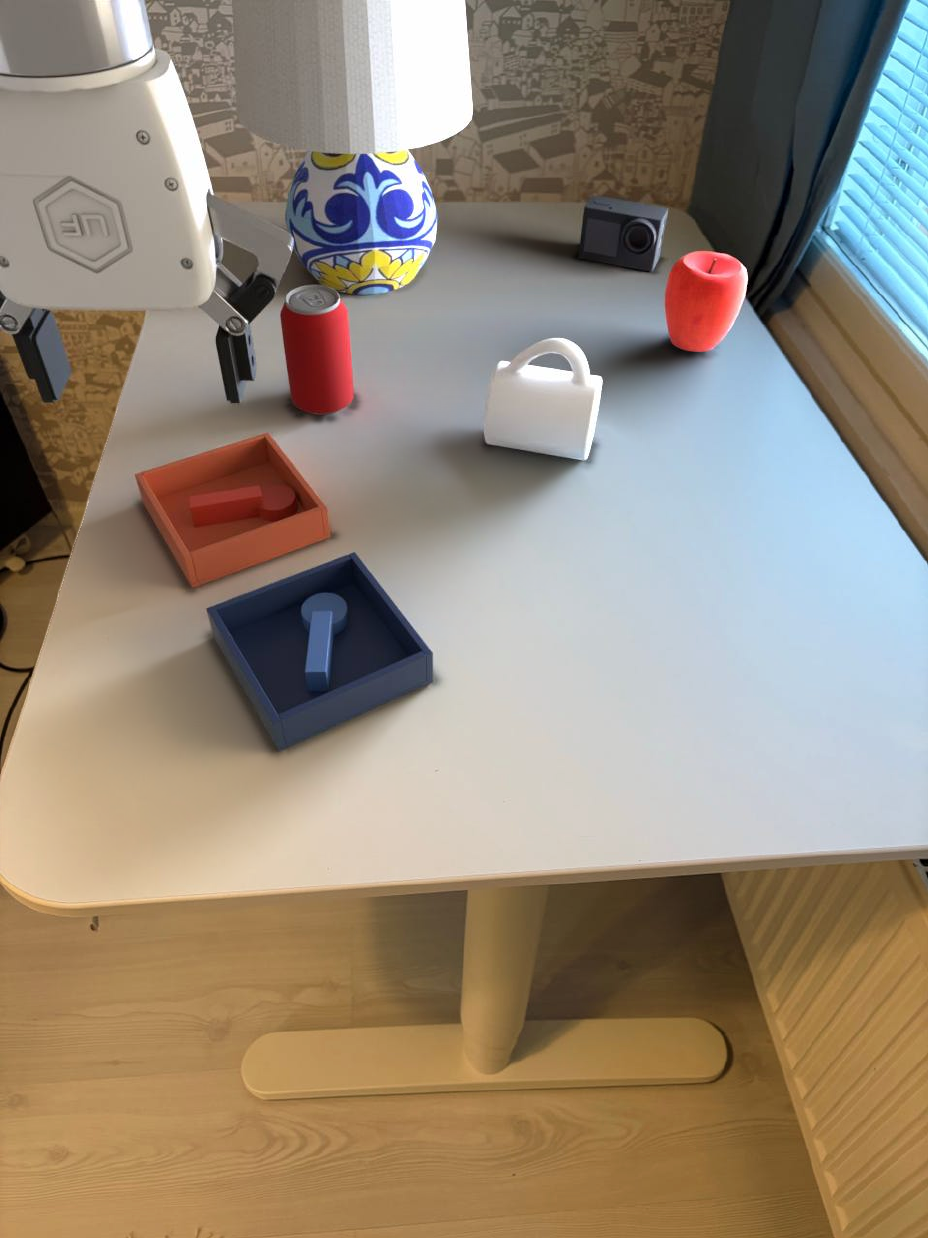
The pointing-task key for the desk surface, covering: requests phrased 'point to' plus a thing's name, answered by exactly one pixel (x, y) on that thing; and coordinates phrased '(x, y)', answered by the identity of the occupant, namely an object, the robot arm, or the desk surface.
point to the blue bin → (277, 648)
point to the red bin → (235, 541)
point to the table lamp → (355, 123)
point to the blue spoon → (322, 635)
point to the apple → (703, 299)
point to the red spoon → (243, 505)
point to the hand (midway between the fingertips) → (148, 388)
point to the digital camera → (622, 232)
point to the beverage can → (317, 349)
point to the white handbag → (543, 403)
